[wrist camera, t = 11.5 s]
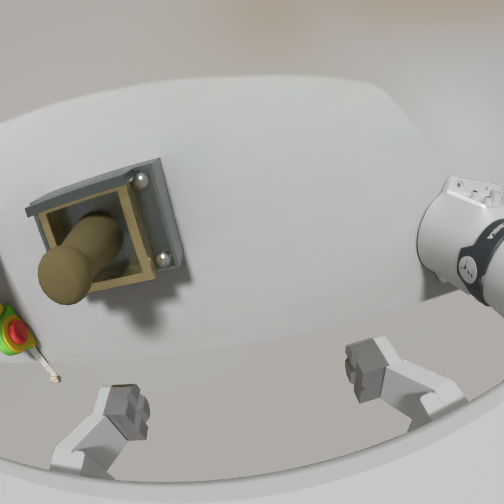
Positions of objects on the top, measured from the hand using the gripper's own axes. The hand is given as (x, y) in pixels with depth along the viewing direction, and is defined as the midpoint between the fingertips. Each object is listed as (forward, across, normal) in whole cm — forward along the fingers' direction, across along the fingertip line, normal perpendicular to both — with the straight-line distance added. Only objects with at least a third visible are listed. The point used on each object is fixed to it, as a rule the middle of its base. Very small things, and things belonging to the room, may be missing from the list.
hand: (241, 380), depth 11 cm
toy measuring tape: (+27, +40, +16) cm, 51 cm away
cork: (+23, +15, 0) cm, 27 cm away
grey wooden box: (+28, +14, 0) cm, 31 cm away
